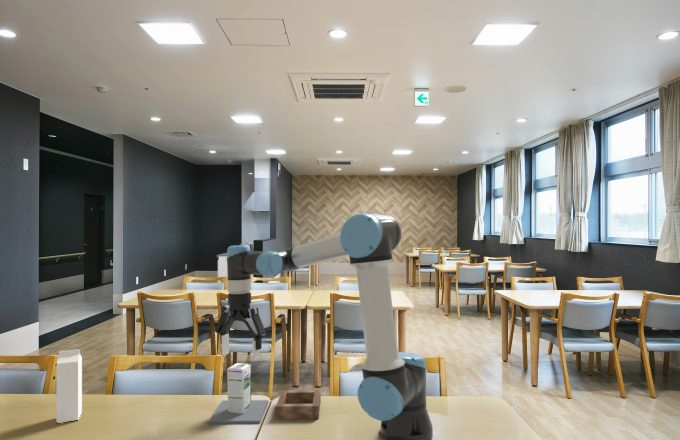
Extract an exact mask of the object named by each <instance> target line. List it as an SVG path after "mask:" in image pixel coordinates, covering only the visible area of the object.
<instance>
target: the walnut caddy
mask: <svg viewBox="0 0 680 440" xmlns="http://www.w3.org/2000/svg"><path fill="white" fill-rule="evenodd" d="M321 394H322V393H321V389H311V390H310V389H308V390H307V389H304V390H303V389H302V390H300V389H299V390H294V389H293V390H291V389H290V390H287V389H285V390H283V389H282V390H281V392H280V394H279V397H278V400H277V403H276V406H275V419H276V420H318V419H319V418H320V410H321V403H322V402H321V397H322V395H321Z"/></svg>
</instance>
